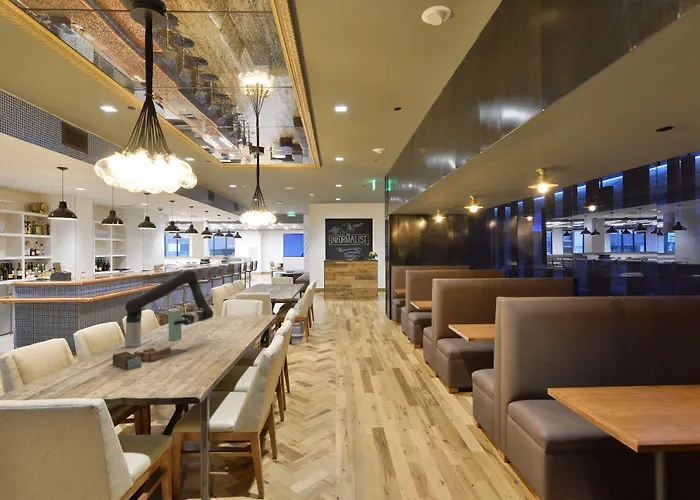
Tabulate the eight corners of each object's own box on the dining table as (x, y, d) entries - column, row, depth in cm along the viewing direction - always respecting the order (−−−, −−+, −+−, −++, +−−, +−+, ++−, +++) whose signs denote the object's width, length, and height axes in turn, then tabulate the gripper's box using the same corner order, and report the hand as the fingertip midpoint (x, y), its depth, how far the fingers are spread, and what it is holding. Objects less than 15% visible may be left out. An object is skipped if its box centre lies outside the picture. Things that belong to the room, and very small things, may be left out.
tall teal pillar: (168, 341, 251) (168, 311, 251) (176, 338, 258) (176, 309, 258) (173, 341, 250) (173, 311, 250) (181, 339, 257) (181, 309, 257)
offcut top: (143, 354, 237) (143, 349, 237) (149, 351, 243) (149, 347, 243) (148, 354, 237) (148, 350, 237) (154, 351, 243) (154, 347, 243)
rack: (133, 360, 234) (133, 351, 234) (153, 353, 249) (153, 346, 249) (151, 362, 230) (151, 353, 230) (170, 355, 245) (170, 347, 245)
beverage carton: (127, 370, 214) (127, 358, 214) (112, 364, 225) (112, 353, 226) (141, 367, 221) (141, 355, 221) (126, 361, 232) (126, 350, 232)
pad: (161, 353, 250) (161, 352, 250) (174, 349, 261) (174, 348, 261) (175, 354, 247) (175, 354, 247) (187, 350, 257) (187, 349, 257)
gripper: (182, 312, 270) (163, 317, 254) (198, 313, 265) (180, 318, 249) (182, 323, 270) (163, 328, 254) (198, 324, 265) (180, 329, 249)
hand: (171, 323), depth 252 cm, fingers closed on tall teal pillar, 4 cm apart
